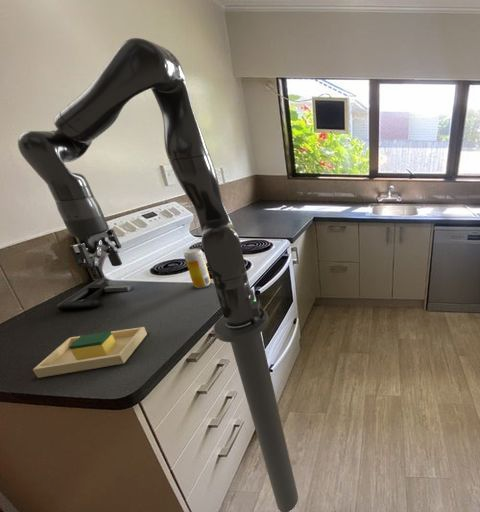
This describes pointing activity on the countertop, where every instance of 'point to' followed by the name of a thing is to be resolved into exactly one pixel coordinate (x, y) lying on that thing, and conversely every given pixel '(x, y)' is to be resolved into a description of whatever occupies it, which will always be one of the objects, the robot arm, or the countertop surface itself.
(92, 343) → the sponge
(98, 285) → the door handle
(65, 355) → the tray
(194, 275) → the white and yellow cylinder
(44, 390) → the countertop surface
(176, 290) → the countertop surface
